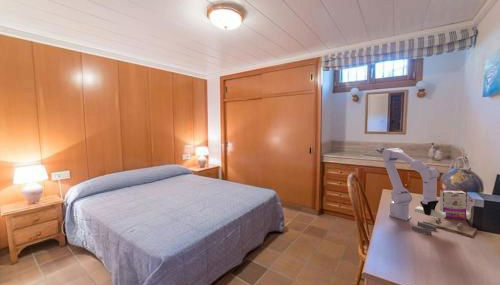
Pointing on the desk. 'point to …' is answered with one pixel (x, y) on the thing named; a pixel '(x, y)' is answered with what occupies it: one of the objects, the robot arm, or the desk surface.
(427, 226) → the battens
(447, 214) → the candy bar box
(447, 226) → the peg stand
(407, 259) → the desk surface
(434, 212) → the shelf board
